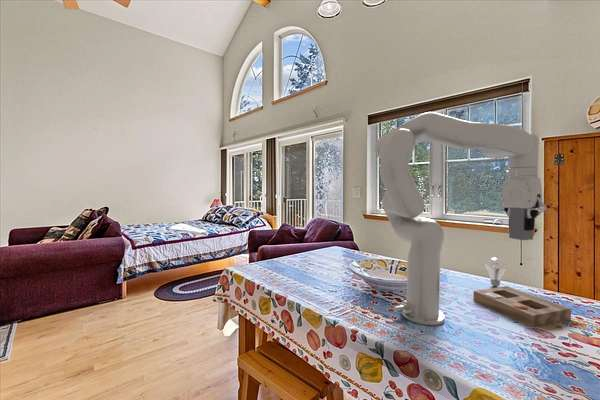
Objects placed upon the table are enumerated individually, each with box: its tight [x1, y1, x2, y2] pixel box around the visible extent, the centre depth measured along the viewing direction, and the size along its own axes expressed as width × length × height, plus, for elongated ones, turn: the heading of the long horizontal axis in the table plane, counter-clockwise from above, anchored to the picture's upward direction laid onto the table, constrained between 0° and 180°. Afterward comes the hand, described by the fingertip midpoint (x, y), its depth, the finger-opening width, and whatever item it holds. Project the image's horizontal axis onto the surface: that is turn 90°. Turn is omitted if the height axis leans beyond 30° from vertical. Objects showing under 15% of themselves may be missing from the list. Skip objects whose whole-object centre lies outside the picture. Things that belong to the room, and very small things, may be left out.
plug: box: [508, 208, 534, 241], centre depth 91 cm, size 4×4×15 cm
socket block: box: [473, 285, 572, 328], centre depth 93 cm, size 16×20×4 cm
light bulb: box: [485, 257, 507, 288], centre depth 114 cm, size 7×7×12 cm
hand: (521, 228), depth 92 cm, fingers closed on plug, 4 cm apart
